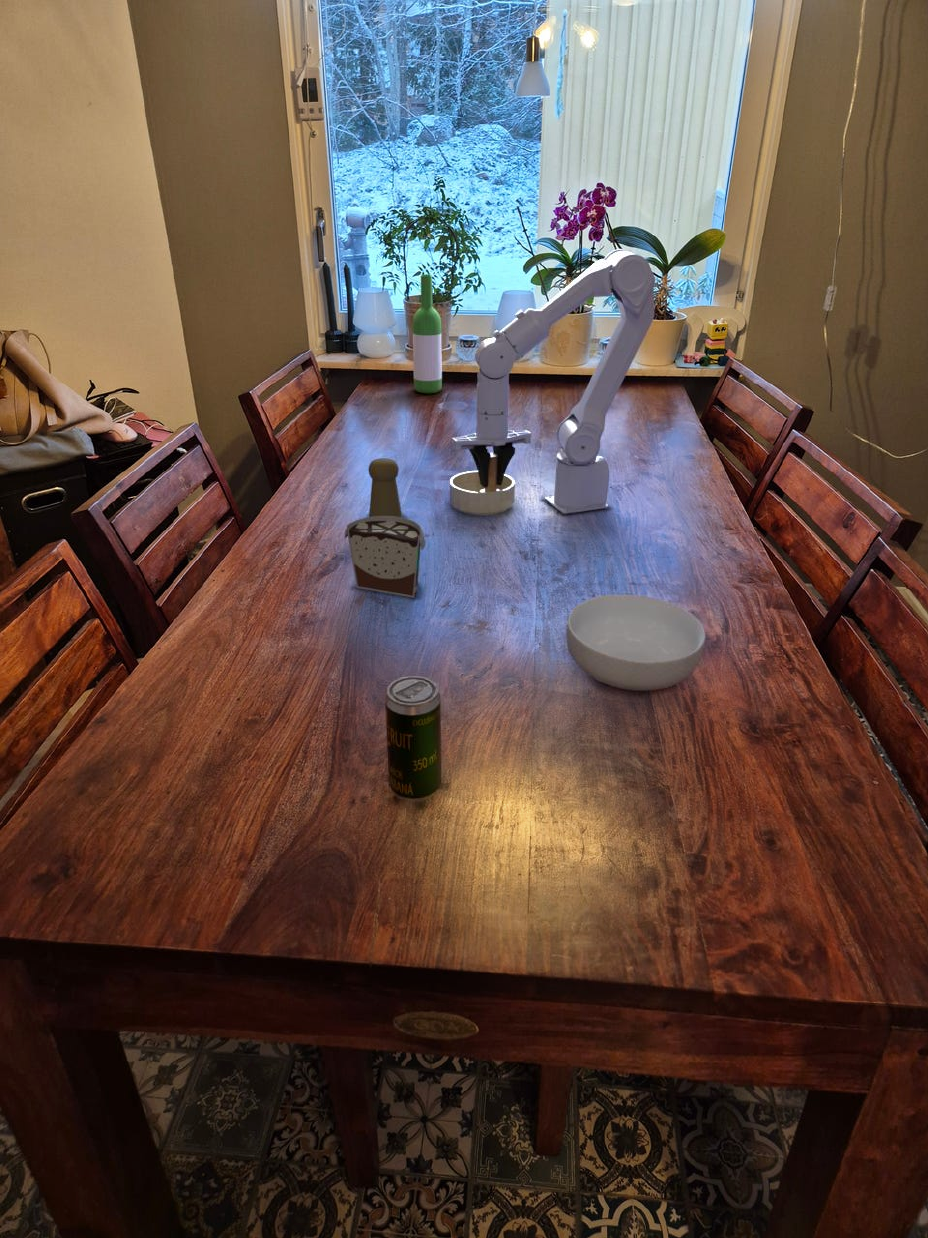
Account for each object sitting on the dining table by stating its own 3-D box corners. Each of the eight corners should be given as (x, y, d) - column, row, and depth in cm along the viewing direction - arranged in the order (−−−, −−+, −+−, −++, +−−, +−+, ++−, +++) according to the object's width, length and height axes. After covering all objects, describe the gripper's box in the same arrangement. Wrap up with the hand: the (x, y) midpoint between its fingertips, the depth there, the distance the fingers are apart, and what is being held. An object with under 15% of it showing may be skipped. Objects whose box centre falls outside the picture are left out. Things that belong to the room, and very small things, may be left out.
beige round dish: (498, 489, 160) (499, 467, 158) (524, 511, 150) (525, 488, 148) (441, 497, 156) (440, 474, 154) (463, 520, 146) (463, 496, 144)
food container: (438, 581, 125) (437, 520, 120) (423, 599, 120) (422, 536, 115) (365, 569, 128) (361, 509, 123) (347, 586, 123) (343, 524, 118)
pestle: (496, 496, 154) (497, 450, 150) (504, 504, 151) (506, 456, 146) (476, 499, 153) (477, 452, 148) (484, 506, 149) (485, 459, 145)
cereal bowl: (670, 729, 93) (679, 677, 89) (540, 684, 100) (543, 635, 97) (715, 661, 105) (724, 614, 102) (596, 627, 113) (601, 581, 110)
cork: (397, 527, 143) (395, 466, 138) (364, 524, 144) (361, 464, 139) (406, 514, 148) (404, 455, 143) (374, 511, 149) (371, 453, 144)
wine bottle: (411, 393, 225) (408, 276, 210) (417, 386, 232) (415, 272, 217) (438, 394, 224) (438, 277, 209) (444, 388, 231) (443, 273, 216)
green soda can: (414, 762, 87) (411, 668, 81) (452, 784, 84) (452, 688, 78) (378, 788, 84) (372, 691, 78) (416, 812, 81) (413, 713, 75)
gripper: (462, 420, 138) (461, 496, 145) (539, 412, 142) (535, 486, 149) (447, 410, 144) (448, 483, 150) (522, 402, 148) (519, 474, 155)
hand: (490, 484), depth 150 cm, fingers closed on pestle, 2 cm apart
